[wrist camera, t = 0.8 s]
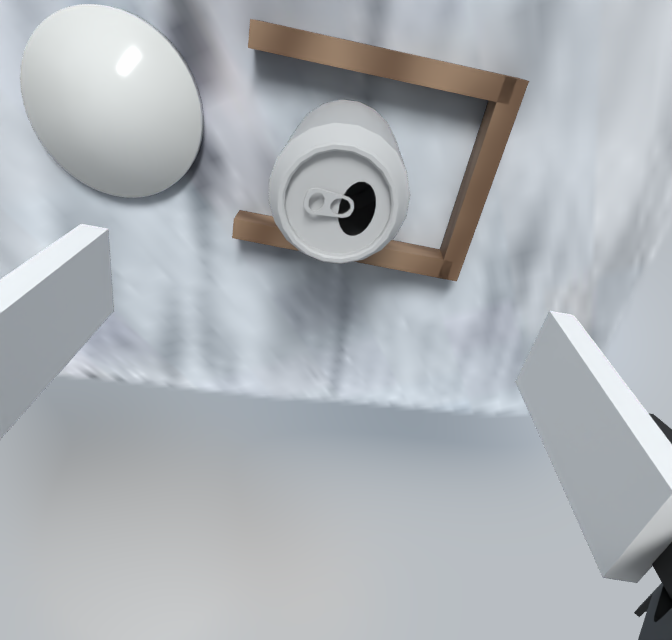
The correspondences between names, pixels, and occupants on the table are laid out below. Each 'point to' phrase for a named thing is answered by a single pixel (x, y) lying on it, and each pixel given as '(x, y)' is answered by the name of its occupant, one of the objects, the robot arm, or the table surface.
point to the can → (340, 184)
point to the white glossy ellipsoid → (111, 100)
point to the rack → (419, 71)
